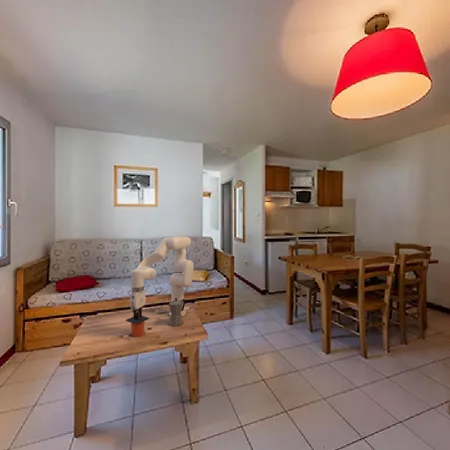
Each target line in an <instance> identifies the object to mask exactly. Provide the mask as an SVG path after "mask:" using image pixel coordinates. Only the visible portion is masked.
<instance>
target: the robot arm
mask: <svg viewBox="0 0 450 450" xmlns="http://www.w3.org/2000/svg"><path fill="white" fill-rule="evenodd" d="M191 242H192V241H191V238H190V237H188V236H182V235H173V236H171V237H164V238H162V240H161V241H160V243H159V244H158V245H157V247H156V248H155V249H154V251H153V252H152V253H150V254H149V255H147V256H146V257H145V258H143V259H142V260H141V262H140V263H139V264H138V265H137V267H136V268H135V269H132V271H131V287H130V288H131V289H130V290H131V293H130V299H129V300H130V302H129V307H130V310H129V311H130V312H132V313H133V317H134V319H138V310H140V317H142V316H143V312H142V311H143V307H144V306H145V305H146V303H147V298H146V290H145V281H147V280H152V279H154V278H156V277H157V270H156V269H155V268H154V267H151V266H152V265H153V264H156V263H159V262H161V261H163V260H165V259H166V257H167V255H168V254H169V252H170V250H173V251H174V260H173V269H174V271H176V272H174V273H172V274H171V275H170V277H169V283H170V284H169V285H170V293H171V294H170V302H171V301H175V298H177V300H179V301H180V300H182V299H184V300H185V290H184V288H189V287H191V286H192V283H193V276H194V268H195V267H194V266H195V265H194V262H193V261H192V260H190V259H187V251H186V249H188V248H189V247H190V246H191V244H192V243H191ZM182 306H183V305H182ZM188 310H190V307H189V306H184V310H183V311H181V315H182V317H184V316H185V315H186V314H187V311H188ZM168 315H169V317H170V316H171V312H170V311H169V312H168Z"/></svg>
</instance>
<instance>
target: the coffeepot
mask: <svg viewBox="0 0 450 450" xmlns="http://www.w3.org/2000/svg"><path fill="white" fill-rule="evenodd" d="M182 305H183V306H182ZM184 307H186V300H185V298H184V299H182V300H180V301H179V300H177V298H175V301H171V300H170V302H168V308H169V310H170V311H169V313H170V312H171V316H170V315H169V322H168V325H169V326H171V327H180V326H182V325H183V323H184V322H183V316H182V315H181V311H183V310H184Z"/></svg>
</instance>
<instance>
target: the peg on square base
mask: <svg viewBox="0 0 450 450" xmlns="http://www.w3.org/2000/svg"><path fill="white" fill-rule="evenodd" d="M148 320H150V317H148V316H145V315H142V317H140V310H138V319H134V316H132V317H129V318H127V319H125V322H128V323H130V324H131V323H134V324H138V323H141V322H143V321H144V322H145V321H148Z"/></svg>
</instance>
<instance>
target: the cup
mask: <svg viewBox="0 0 450 450" xmlns="http://www.w3.org/2000/svg"><path fill="white" fill-rule="evenodd" d="M144 334H145V321H143V322H141V323H138V324H134V323H131V322H130V336H131V337H134V338H138V337H142V336H143V335H144Z"/></svg>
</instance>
